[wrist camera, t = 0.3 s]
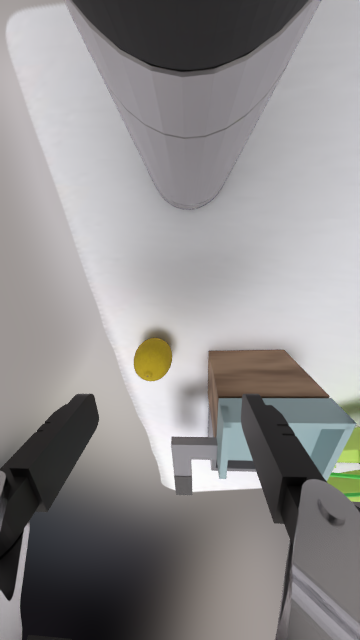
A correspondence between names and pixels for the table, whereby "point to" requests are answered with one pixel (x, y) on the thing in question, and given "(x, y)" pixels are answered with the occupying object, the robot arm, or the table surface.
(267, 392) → the pedestal
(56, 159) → the table surface
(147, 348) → the lemon
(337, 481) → the catamaran
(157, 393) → the table surface
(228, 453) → the tray
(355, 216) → the table surface
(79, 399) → the robot arm
